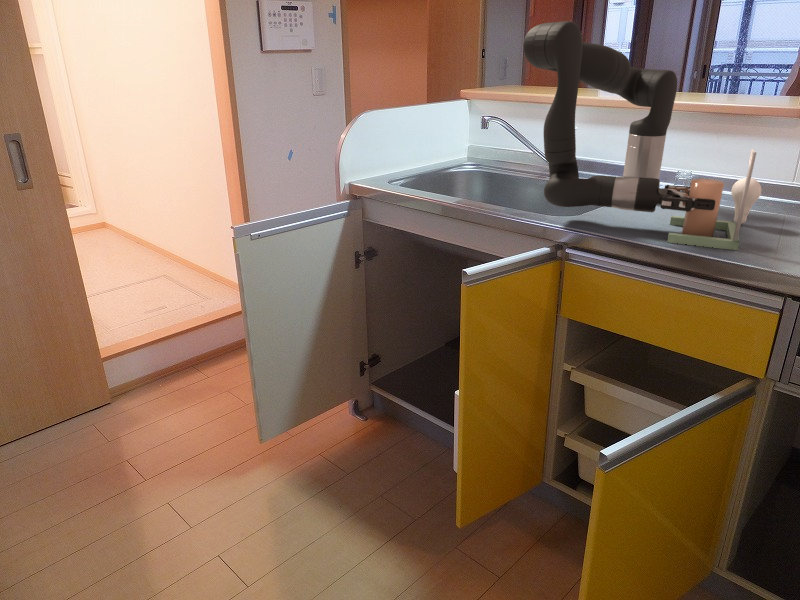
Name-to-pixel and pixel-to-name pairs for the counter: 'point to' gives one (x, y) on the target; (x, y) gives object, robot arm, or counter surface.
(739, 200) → the lightbulb
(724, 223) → the green u-shaped stand
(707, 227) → the peach cylinder
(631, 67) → the robot arm
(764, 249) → the counter surface
